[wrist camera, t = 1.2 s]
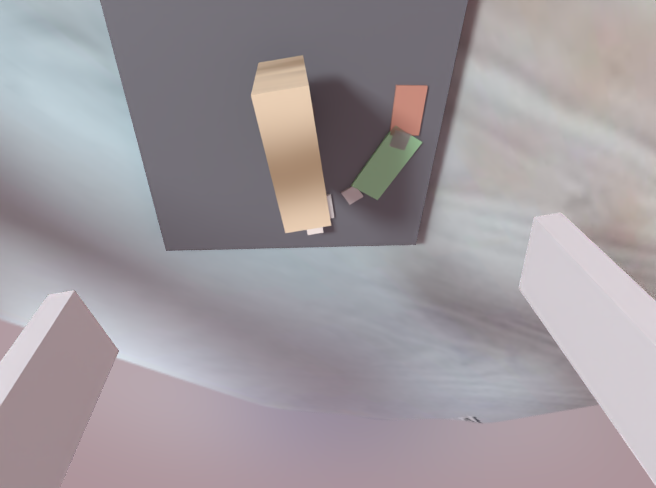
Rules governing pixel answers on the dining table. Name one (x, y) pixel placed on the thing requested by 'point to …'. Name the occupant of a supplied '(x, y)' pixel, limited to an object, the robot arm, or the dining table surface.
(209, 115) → the dial board
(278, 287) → the dining table surface
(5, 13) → the dining table surface
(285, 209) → the beige boxy piece
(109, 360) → the robot arm
